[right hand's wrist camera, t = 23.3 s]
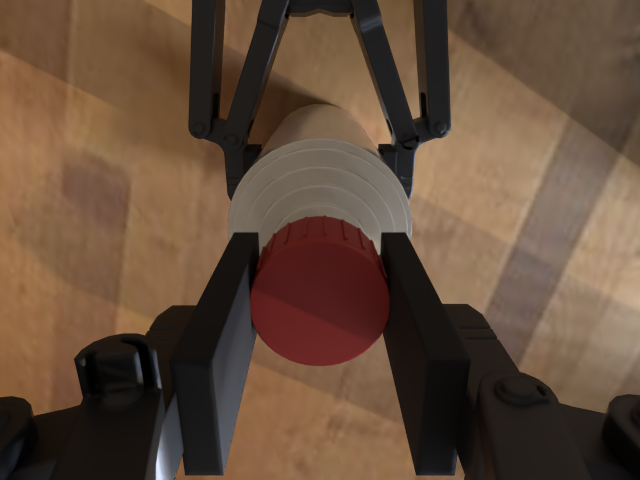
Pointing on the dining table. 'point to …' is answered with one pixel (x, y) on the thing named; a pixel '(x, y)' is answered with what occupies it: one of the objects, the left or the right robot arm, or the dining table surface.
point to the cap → (319, 292)
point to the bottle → (319, 179)
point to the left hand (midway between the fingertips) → (320, 248)
